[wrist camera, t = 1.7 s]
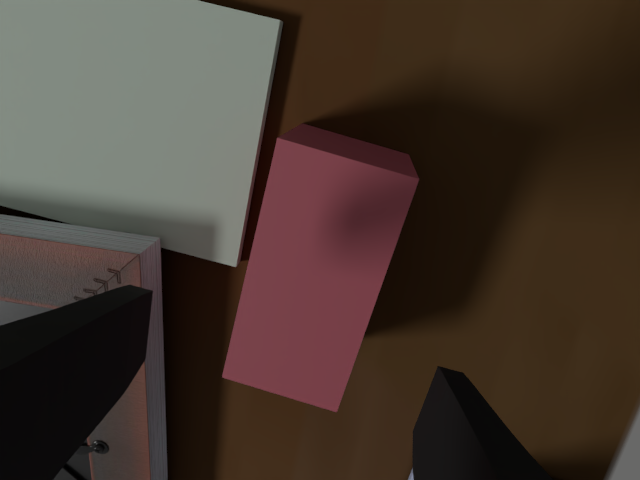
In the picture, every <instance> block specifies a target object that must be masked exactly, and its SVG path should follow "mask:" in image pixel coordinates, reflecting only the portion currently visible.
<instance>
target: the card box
mask: <svg viewBox="0 0 640 480" xmlns="http://www.w3.org/2000/svg"><path fill="white" fill-rule="evenodd" d="M418 181H419V177H418V175H417V173H416V170H415V168H414V166H413V163H412V161H411V158H410V156H409V154H406V153H403V152H399V151H396V150H392V149H389V148H385V147H382V146H378V145H375V144H372V143H368V142H365V141H361V140H358V139H354V138H351V137H348V136H344V135H341V134H337V133H334V132H330V131H327V130H323V129H320V128H317V127H313V126H310V125H306V124H303V123H302V124H301V125H299V126H297V127H295V128H294V129H292V130H290V131H288V132H287V133H285V134H283V135H281V136H280V137H278V138H277V142H276V146H275V150H274V155H273V159H272V163H271V167H270V172H269V176H268V180H267V185H266V189H265V193H264V198H263V202H262V206H261V211H260V215H259V219H258V224H257V228H256V232H255V237H254V241H253V245H252V250H251V254H250V258H249V263H248V267H247V271H246V276H245V280H244V284H243V289H242V293H241V297H240V301H239V306H238V310H237V314H236V319H235V323H234V327H233V332H232V336H231V340H230V345H229V349H228V353H227V358H226V362H225V366H224V371H223V375H222V378H226V379H229V380H232V381H236V382H239V383H242V384H245V385H249V386H252V387H255V388H259V389H262V390H265V391H268V392H272V393H275V394H278V395H282V396H285V397H288V398H291V399H295V400H298V401H301V402H305V403H308V404H311V405H314V406H318V407H321V408H324V409H327V410H331V411H334V412H337V410H338V407H339V404H340V402H341V399H342V396H343V393H344V390H345V387H346V385H347V382H348V379H349V376H350V373H351V371H352V368H353V365H354V362H355V359H356V356H357V354H358V351H359V348H360V345H361V342H362V340H363V337H364V334H365V331H366V328H367V325H368V323H369V320H370V317H371V314H372V311H373V308H374V306H375V303H376V300H377V297H378V294H379V292H380V289H381V286H382V283H383V280H384V277H385V275H386V272H387V269H388V266H389V263H390V260H391V258H392V255H393V252H394V249H395V246H396V244H397V241H398V238H399V235H400V232H401V229H402V227H403V224H404V221H405V218H406V215H407V213H408V210H409V207H410V204H411V201H412V198H413V196H414V193H415V190H416V187H417V184H418Z"/></svg>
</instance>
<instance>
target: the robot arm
mask: <svg viewBox="0 0 640 480" xmlns="http://www.w3.org/2000/svg"><path fill="white" fill-rule="evenodd" d="M152 295H153V291H152V290H148V289H144V288H141V287H137V286H133V285H126V286H122V287H118V288H115V289H112V290H109V291H106V292H103V293H100V294H97V295H94V296H91V297H89V298H86V299H83V300H80V301H77V302H74V303H71V304H68V305H65V306H62V307H59V308H56V309H53V310H50V311H47V312H44V313H40V314H37V315H34V316H30V317H27V318H24V319H20V320H17V321H14V322H10V323H7V324H3V325H0V480H53V479H54V478H55V477H56V475H57V474H58V473H59V471H60V470H61V469H62V468H63V467H64V465H65V464H66V463H67V462H68V461H69V459H70V458H71V457H72V456H73V455H74V453H75V452H76V451H77V450H78V449H79V447H80V446H81V445H82V444H83V443H84V441H85V440H86V439H87V438H88V437H89V435H90V434H91V433H92V432H93V431H94V429H95V428H96V427H97V426H98V425H99V423H100V422H101V421H102V420H103V419H104V417H105V416H106V415H107V414H108V412H109V411H110V410H111V409H112V408H113V406H114V405H115V404H116V403H117V402H118V400H119V399H120V398H121V397H122V395H123V394H124V393H125V391H126V390H127V388H128V387H129V385H130V384H131V382H132V380H133V379H134V377H135V376H136V374H137V372H138V371H139V369H140V367H141V366H142V364H143V363H144V361H145V359H146V351H147V342H148V333H149V323H150V314H151V305H152ZM408 480H553V479H552V478H551V477H550V476H549V475H548V474H547V472H546V471H545V470H544V469H543V468H542V467H541V466H540V465H539V464H538V463H537V461H536V460H535V459H534V458H533V457H532V456H531V455H530V454H529V453H528V451H527V450H526V449H525V448H524V447H523V446H522V444H521V443H520V442H519V441H518V440H517V439H516V437H515V436H514V435H513V434H512V433H511V431H510V430H509V429H508V428H507V427H506V425H505V424H504V423H503V422H502V420H501V419H500V418H499V417H498V415H497V414H496V413H495V412H494V410H493V409H492V408H491V407H490V405H489V404H488V403H487V402H486V400H485V399H484V398H483V396H482V395H481V394H480V393H479V391H478V390H477V389H476V388H475V386H474V385H473V384H472V383H471V381H470V380H469V379H468V378H467V377H466V376H465V375H464V373H462V372H458V371H454V370H450V369H447V368H443V367H439V366H438V368H437V370H436V373H435V376H434V378H433V381H432V383H431V386H430V388H429V391H428V394H427V396H426V399H425V401H424V404H423V407H422V409H421V412H420V414H419V417H418V420H417V422H416V425H415V427H414V430H413V468H412V471H411V473H410V476H409V478H408Z"/></svg>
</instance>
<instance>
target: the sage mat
mask: <svg viewBox="0 0 640 480" xmlns="http://www.w3.org/2000/svg"><path fill="white" fill-rule="evenodd" d="M282 27H283V22H282V21H281V20H277V19H273V18H269V17H265V16H261V15H257V14H253V13H248V12H244V11H240V10H236V9H232V8H228V7H224V6H219V5H215V4H211V3H207V2H203V1H199V0H0V206H4V207H8V208H12V209H16V210H20V211H23V212H27V213H31V214H35V215H39V216H42V217H46V218H50V219H54V220H58V221H62V222H65V223H69V224H73V225H79V226H86V227H92V228H99V229H106V230H113V231H120V232H130V233H134V234H141V235H147V236H154V237H160V241H161V248H165V249H168V250H172V251H176V252H180V253H184V254H188V255H191V256H195V257H199V258H203V259H207V260H210V261H214V262H218V263H222V264H226V265H230V266H233V267H237V265H238V264H239V263H240V259H241V254H242V248H243V243H244V237H245V232H246V226H247V221H248V215H249V209H250V204H251V198H252V193H253V187H254V182H255V176H256V171H257V165H258V160H259V154H260V149H261V143H262V137H263V132H264V126H265V121H266V115H267V110H268V104H269V99H270V93H271V88H272V82H273V76H274V71H275V65H276V60H277V54H278V49H279V43H280V38H281V32H282Z"/></svg>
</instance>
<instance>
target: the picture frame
mask: <svg viewBox="0 0 640 480" xmlns="http://www.w3.org/2000/svg"><path fill="white" fill-rule="evenodd" d="M126 285H133V286H137V287H141V288H144V289H148V290H152V291H153V295H152V305H151V314H150V323H149V333H148V342H147V351H146V359H145V361H144V363H143V364H142V366H141V367H140V369H139V371H138V372H137V374H136V376H135V377H134V379H133V380H132V382H131V384H130V385H129V387H128V388H127V390H126V391H125V393H124V394H123V395H122V397H121V398H120V399H119V400H118V402H117V403H116V404H115V405H114V406H113V408H112V409H111V410H110V411H109V412H108V414H107V415H106V416H105V417H104V419H103V420H102V421H101V422H100V423H99V425H98V426H97V427H96V428H95V429H94V431H93V432H92V433H91V434H90V435H89V437H88V438H87V439H86V440H85V441H84V443H83V444H82V445H81V446H80V447H79V449H78V450H77V451H76V452H75V453H74V455H73V456H72V457H71V458H70V459H69V461H68V462H67V463H66V464H65V465H64V467H63V468H62V469H61V470H60V471H59V473H58V474H57V475H56V477H55V478H54V479H53V480H168V471H167V438H166V405H165V372H164V340H163V307H162V274H161V241H160V237H154V236H147V235H141V234H134V233H130V232H120V231H113V230H106V229H99V228H92V227H86V226H79V225H72V224H65V223H58V222H51V221H44V220H37V219H31V218H24V217H17V216H10V215H3V214H0V325H3V324H7V323H10V322H14V321H17V320H20V319H24V318H27V317H30V316H34V315H37V314H40V313H44V312H47V311H50V310H53V309H56V308H59V307H62V306H65V305H68V304H71V303H74V302H77V301H80V300H83V299H86V298H89V297H91V296H94V295H97V294H100V293H103V292H106V291H109V290H112V289H115V288H118V287H122V286H126Z"/></svg>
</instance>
